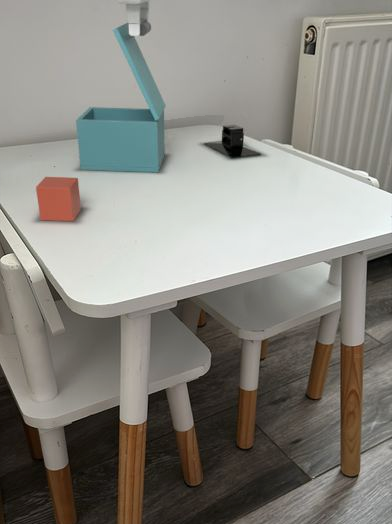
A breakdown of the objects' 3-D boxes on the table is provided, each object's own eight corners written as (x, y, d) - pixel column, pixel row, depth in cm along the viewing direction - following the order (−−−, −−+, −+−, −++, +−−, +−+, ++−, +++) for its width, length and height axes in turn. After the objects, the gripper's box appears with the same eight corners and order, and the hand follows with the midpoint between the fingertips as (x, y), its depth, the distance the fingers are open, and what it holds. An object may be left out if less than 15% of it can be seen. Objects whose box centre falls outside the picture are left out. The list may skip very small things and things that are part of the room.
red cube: (40, 220, 83) (35, 187, 80) (49, 208, 87) (45, 176, 84) (73, 221, 83) (69, 188, 80) (81, 209, 87) (77, 177, 84)
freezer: (80, 169, 104) (75, 120, 99) (93, 153, 114) (89, 107, 109) (158, 172, 104) (157, 122, 99) (164, 155, 113) (164, 109, 108)
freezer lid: (112, 29, 91) (138, 15, 90) (124, 24, 101) (147, 11, 99) (155, 120, 99) (179, 109, 97) (162, 107, 108) (184, 96, 107)
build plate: (204, 144, 121) (204, 122, 119) (233, 141, 124) (234, 119, 122) (231, 158, 112) (233, 134, 110) (262, 155, 115) (264, 131, 112)
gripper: (127, -64, 97) (130, 27, 105) (104, -72, 80) (110, 38, 88) (163, -63, 97) (163, 28, 105) (148, -71, 80) (149, 39, 88)
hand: (138, 33), depth 96 cm, fingers open, 8 cm apart
